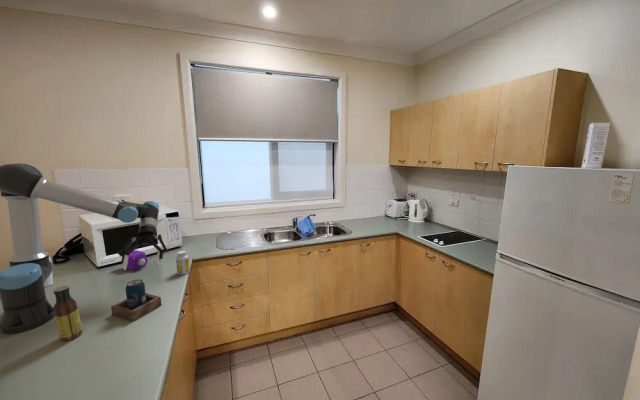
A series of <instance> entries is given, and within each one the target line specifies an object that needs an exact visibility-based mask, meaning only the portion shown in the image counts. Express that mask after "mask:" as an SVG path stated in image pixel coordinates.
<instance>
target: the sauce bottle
mask: <svg viewBox="0 0 640 400" xmlns="http://www.w3.org/2000/svg"><path fill="white" fill-rule="evenodd" d="M53 294H54V296H55V304H54V305H53V309H54V313H55V316H54V318H55V322H56V327H57V331H58V335H59V338H60V339H61V341H63V342H64V341H65V342H67V341H70V340H71V341H72V340H74V339H76V338H78V337H80V336H81V335H82V333H83V326H82V321H81V316H80V311H79V308H78V305H77V301H76V300H75V299H74V298H72V297H71V293H70V287H69V286H68V285H65V286H59V287H57V288H55V289H54V290H53Z"/></svg>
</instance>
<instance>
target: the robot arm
mask: <svg viewBox="0 0 640 400" xmlns="http://www.w3.org/2000/svg"><path fill="white" fill-rule="evenodd" d="M0 197H1V198H3V199H4V200H6V201H7V210H8V217H9V224H10V232H11V239H12V240H11V241H12V242H11V243H12V249H13V250H12V251H13V256H11V257H10V258H9V259H8V262H9V268H5V269H3V270H2V271H0V300H1V306H2V310H3V312H2V314H1V315H2V316H1V319H0V333H1V334H5V335H11V334H12V335H13V334H17V333H22V332H26V331H29V330H32V329H35V328H38V327H40V326H42V325H45V323H47V322H49V321H50V320H52V319H54V318H55V313H54V309H53V308H54V306H53V305H52V304H51V303H50V301H48V299H47V295H46V294H47V293H46V290H45V288H46V287H44V283H45V281H46V279H47V278H48V277H49V276H50V274H51V271H52V272H53V262H52V263H51V262H50V260H49V257H50V254H49V252H47V251H44V245H43V236H42V227H41V226H42V225H41V217H40V210H39V208H40V206H39V199H41V200H46V201H50V202H53V203H58V204H61V205H65V206H68V207H72V208H76V209H79V210H80V209H81V210H82V211H87V212H91V213H94V214H98V215H101V216H105V217H109V218H112V219H116V220H119V221H120V222H122V223H126V224H129V223H133V222H135V221H136V220H137V219H139V220H140V221H139V225H138V230H137V231H138V232H137V236H136V237H133V236H130V237H128V240H127V242H126V243H125V244H124V245H123V246H122V248H121V249H120V250H119V252H118V253H117V255H119V257H121V259H120V260H121V261H120V262H121V263H122V270H123V271H127V269H126V268H127V263H128V258H129V257H128V255H129V254H130V253H132V252H133V251H134V250H137V248H139V247H141V246H149V245H151V246H153V247H154V248H155V249H156V251H157V255H156V262H155V265H156V267H160V264H161V260H163V258H164V253H167V252H168V251H169V250H168V248H167V247H166V245H165V243H164V241H163V236H162V234H158V235H156V232H157V225H158V218H159V212H160V205H159V203H157V202H156V201H154V200H151V201H149V200H147V201H144V203H141V204H140V203H136V202H132V201H131V202H130V201H126V200H113V199H109V198H107V197H103V196H100V195H96V194H93V193H90V192H86V191H84V190H80V189H77V188H73V187H70V186H66V185H64V184H60V183H57V182H53V181H50V180H47V178H46V177H45V176H44V174H42V172H41V171H40V169H38V168H37V167H35V166H33V165H30V164H26V163H21V162H17V163H7V164H1V165H0ZM155 240H158V241H159V243H160V245H161V246H162V248H161V247H160V246H159V245H158V244H157V243H156V242H155Z"/></svg>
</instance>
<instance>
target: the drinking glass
mask: <svg viewBox="0 0 640 400" xmlns="http://www.w3.org/2000/svg"><path fill="white" fill-rule="evenodd" d="M49 260H50V262H51V263H52V264H53V262H52V258H51V256H49ZM53 277H54V276H53V270H52V271H51V274H50V276H49V277H48V278H47V279H46V281H45V283H44V288H46V287H51V286H52V285H53V284H54V279H53Z"/></svg>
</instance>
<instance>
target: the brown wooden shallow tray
mask: <svg viewBox="0 0 640 400" xmlns="http://www.w3.org/2000/svg"><path fill="white" fill-rule="evenodd" d="M146 301H147V303H145V304H143V305H141V306H139V307H138V308H136V309H134V310H131V309H128V306H127V298H125V299H124V300H121V301H119V302H116V304H113V305H111V306H110V308H111V315H112V316H115V317H117V318H121V319H124V320H127V321H130V322H135V321H136V320H138V319H139V318H141V316H142V317H144V316H145V315H147V314H148V313H150V312H152V311H154V310H155V309H157V308H159V307H161V306H162V298H161V296H158V295H154V294H150V293H147V292H146Z"/></svg>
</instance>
